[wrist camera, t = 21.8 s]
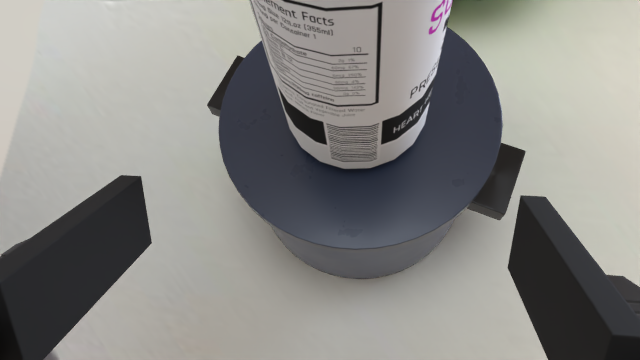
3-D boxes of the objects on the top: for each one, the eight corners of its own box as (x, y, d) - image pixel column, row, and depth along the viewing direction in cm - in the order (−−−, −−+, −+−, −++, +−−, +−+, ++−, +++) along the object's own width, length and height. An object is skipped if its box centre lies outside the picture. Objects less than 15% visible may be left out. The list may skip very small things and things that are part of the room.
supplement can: (272, 82, 29) (187, -178, 15) (393, 40, 30) (416, -250, 16) (313, 193, 26) (252, -11, 12) (449, 145, 26) (537, -107, 13)
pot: (203, 226, 37) (144, 172, 28) (294, 65, 43) (272, -29, 33) (444, 333, 33) (478, 315, 23) (512, 135, 38) (563, 51, 28)
